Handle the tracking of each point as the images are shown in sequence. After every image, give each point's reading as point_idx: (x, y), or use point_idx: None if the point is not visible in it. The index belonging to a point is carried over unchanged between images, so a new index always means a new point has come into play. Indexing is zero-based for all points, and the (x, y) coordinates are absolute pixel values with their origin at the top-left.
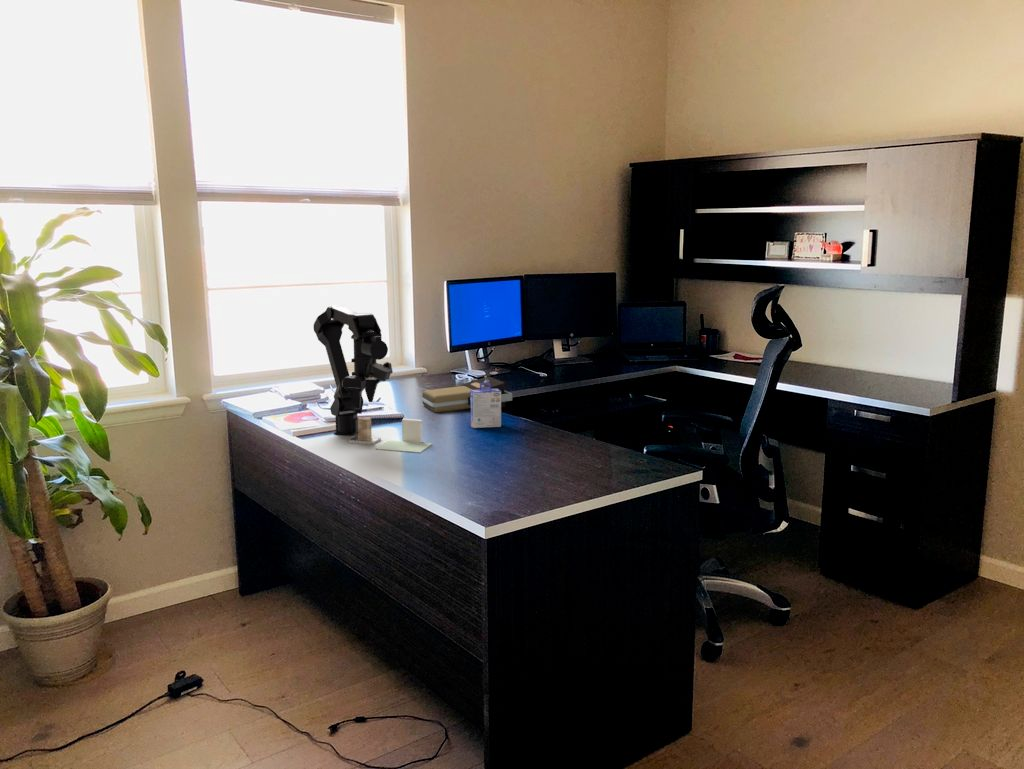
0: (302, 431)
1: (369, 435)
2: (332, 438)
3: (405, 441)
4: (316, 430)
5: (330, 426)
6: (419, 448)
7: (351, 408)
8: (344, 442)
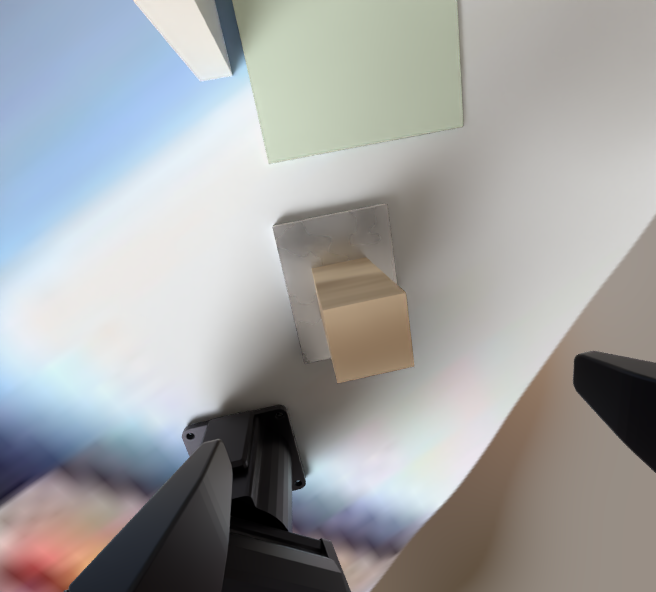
0: None
1: (341, 268)
2: (364, 441)
3: (240, 35)
4: None
5: None
6: None
7: (272, 545)
8: None
